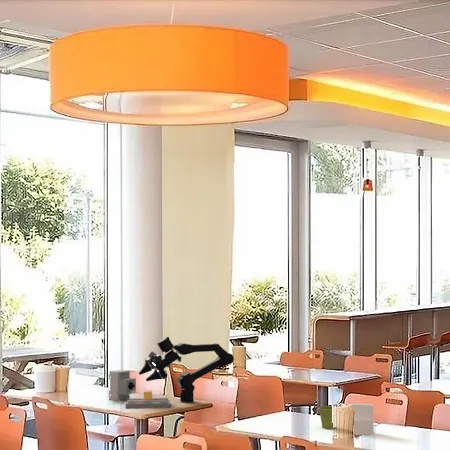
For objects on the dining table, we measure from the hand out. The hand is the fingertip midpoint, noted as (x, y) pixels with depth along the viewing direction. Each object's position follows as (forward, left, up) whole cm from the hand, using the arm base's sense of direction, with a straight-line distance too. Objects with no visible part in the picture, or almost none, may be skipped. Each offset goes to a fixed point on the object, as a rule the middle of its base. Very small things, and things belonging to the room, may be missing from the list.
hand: (142, 377), depth 488 cm
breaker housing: (-3, +5, -14) cm, 15 cm away
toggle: (-3, +5, -12) cm, 13 cm away
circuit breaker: (+11, -19, -14) cm, 26 cm away
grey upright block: (-96, +94, -14) cm, 135 cm away
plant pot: (-84, +80, -14) cm, 117 cm away
